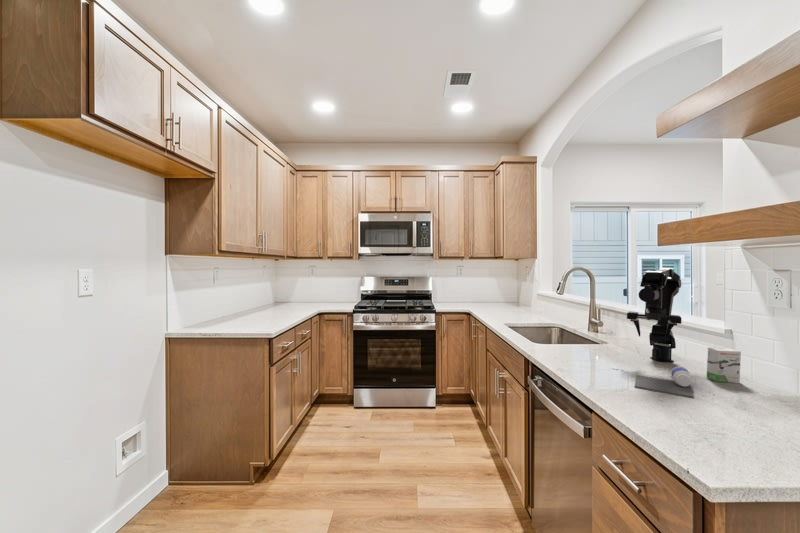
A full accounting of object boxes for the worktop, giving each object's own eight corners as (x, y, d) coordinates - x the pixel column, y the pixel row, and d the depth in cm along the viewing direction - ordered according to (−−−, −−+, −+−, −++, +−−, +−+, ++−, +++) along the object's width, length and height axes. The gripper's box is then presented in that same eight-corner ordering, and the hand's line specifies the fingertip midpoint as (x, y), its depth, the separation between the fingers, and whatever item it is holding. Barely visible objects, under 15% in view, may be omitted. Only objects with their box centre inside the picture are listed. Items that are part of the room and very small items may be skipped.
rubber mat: (636, 376, 140) (636, 374, 140) (690, 385, 130) (690, 383, 130) (634, 387, 127) (634, 385, 127) (693, 398, 117) (693, 396, 117)
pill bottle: (667, 370, 135) (669, 377, 127) (681, 363, 133) (685, 369, 125) (678, 383, 133) (681, 391, 125) (693, 376, 131) (697, 384, 123)
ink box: (716, 382, 134) (717, 350, 134) (705, 377, 139) (706, 346, 139) (740, 382, 134) (741, 350, 134) (729, 378, 139) (730, 347, 139)
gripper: (626, 300, 153) (625, 337, 153) (682, 304, 142) (681, 344, 142) (628, 298, 162) (627, 333, 162) (681, 302, 151) (680, 339, 151)
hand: (652, 337), depth 154 cm, fingers open, 9 cm apart
